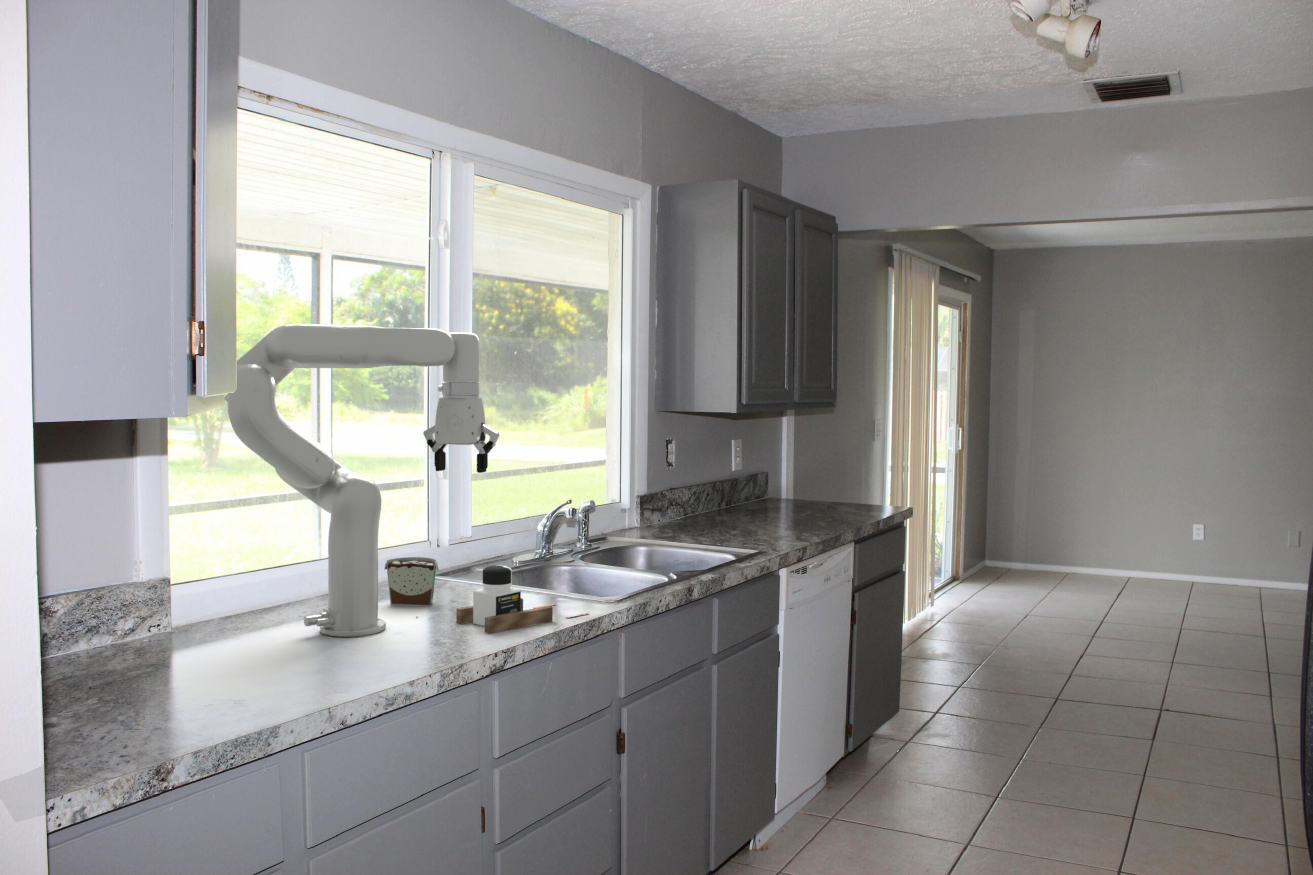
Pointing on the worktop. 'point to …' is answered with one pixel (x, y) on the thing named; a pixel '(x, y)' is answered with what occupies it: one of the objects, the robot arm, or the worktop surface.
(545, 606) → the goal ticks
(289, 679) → the worktop surface
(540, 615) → the chute
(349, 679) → the worktop surface
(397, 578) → the food container
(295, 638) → the worktop surface
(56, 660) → the worktop surface
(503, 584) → the medicine bottle
